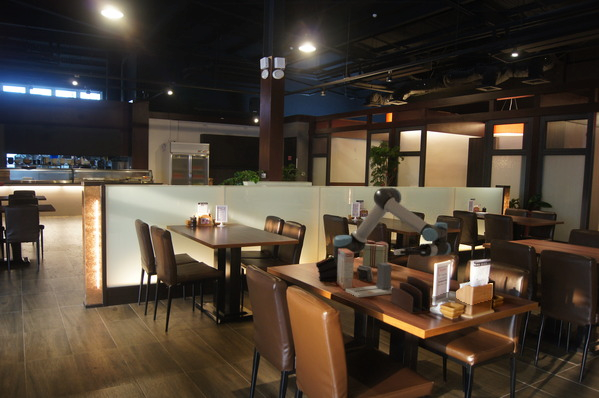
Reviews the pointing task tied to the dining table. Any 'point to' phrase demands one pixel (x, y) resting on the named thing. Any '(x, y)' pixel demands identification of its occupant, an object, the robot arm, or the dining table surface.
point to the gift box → (375, 253)
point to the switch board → (368, 291)
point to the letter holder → (412, 296)
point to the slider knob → (384, 276)
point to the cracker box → (345, 268)
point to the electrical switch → (365, 273)
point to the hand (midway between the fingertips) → (394, 252)
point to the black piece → (327, 270)
